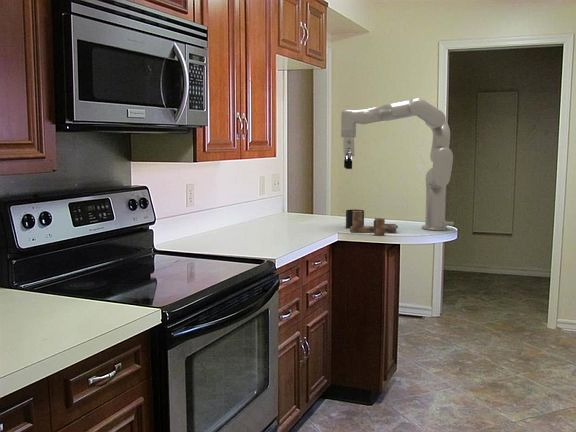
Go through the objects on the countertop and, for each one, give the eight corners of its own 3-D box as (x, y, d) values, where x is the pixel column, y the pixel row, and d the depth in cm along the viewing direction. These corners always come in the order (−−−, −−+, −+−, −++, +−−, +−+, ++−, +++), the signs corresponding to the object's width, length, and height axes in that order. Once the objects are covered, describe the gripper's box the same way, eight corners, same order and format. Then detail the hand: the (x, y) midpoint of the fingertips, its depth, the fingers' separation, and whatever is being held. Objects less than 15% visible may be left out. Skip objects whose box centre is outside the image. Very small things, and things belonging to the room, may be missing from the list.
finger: (383, 234, 304) (383, 218, 303) (384, 235, 300) (384, 219, 299) (373, 234, 304) (373, 218, 303) (374, 235, 300) (374, 219, 299)
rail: (395, 230, 314) (395, 210, 313) (397, 233, 307) (398, 212, 305) (350, 230, 314) (350, 210, 313) (351, 233, 307) (351, 212, 306)
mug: (368, 226, 329) (369, 209, 328) (359, 229, 319) (359, 212, 317) (352, 225, 334) (352, 208, 332) (342, 228, 323) (342, 210, 322)
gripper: (357, 134, 306) (357, 169, 308) (354, 134, 323) (353, 167, 326) (342, 134, 306) (341, 169, 308) (339, 134, 323) (339, 167, 326)
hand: (348, 168), depth 317 cm, fingers open, 9 cm apart
